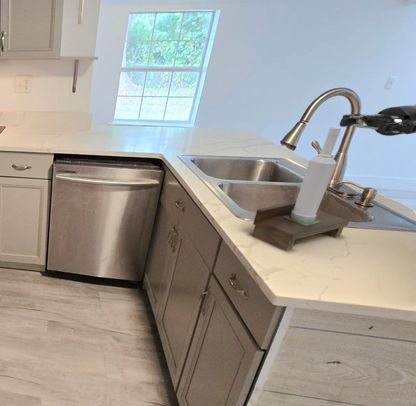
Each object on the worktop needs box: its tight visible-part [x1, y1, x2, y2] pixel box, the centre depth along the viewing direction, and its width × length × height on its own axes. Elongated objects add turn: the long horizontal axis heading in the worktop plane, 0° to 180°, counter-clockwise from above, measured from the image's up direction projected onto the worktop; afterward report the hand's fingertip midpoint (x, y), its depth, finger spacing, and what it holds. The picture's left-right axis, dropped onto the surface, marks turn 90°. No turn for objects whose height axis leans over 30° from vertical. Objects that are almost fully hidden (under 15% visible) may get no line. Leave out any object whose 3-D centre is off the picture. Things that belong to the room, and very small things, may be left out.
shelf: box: [251, 200, 350, 251], centre depth 100 cm, size 10×22×8 cm, turn 109°
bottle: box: [291, 126, 342, 223], centre depth 95 cm, size 5×5×25 cm
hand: (362, 125), depth 93 cm, fingers open, 8 cm apart
